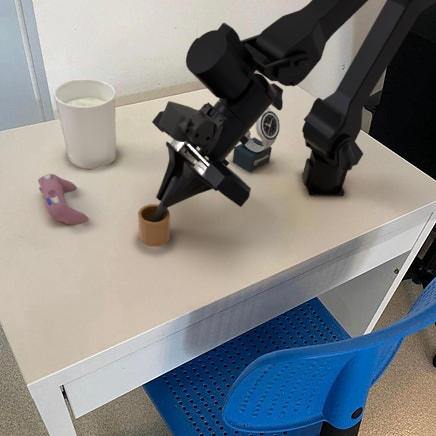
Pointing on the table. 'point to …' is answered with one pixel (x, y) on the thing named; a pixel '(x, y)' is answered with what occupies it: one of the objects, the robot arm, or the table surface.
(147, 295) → the table surface
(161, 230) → the brown wooden cup
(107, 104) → the candle holder
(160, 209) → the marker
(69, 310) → the table surface
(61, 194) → the video game controller
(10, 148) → the table surface
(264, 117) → the watch
